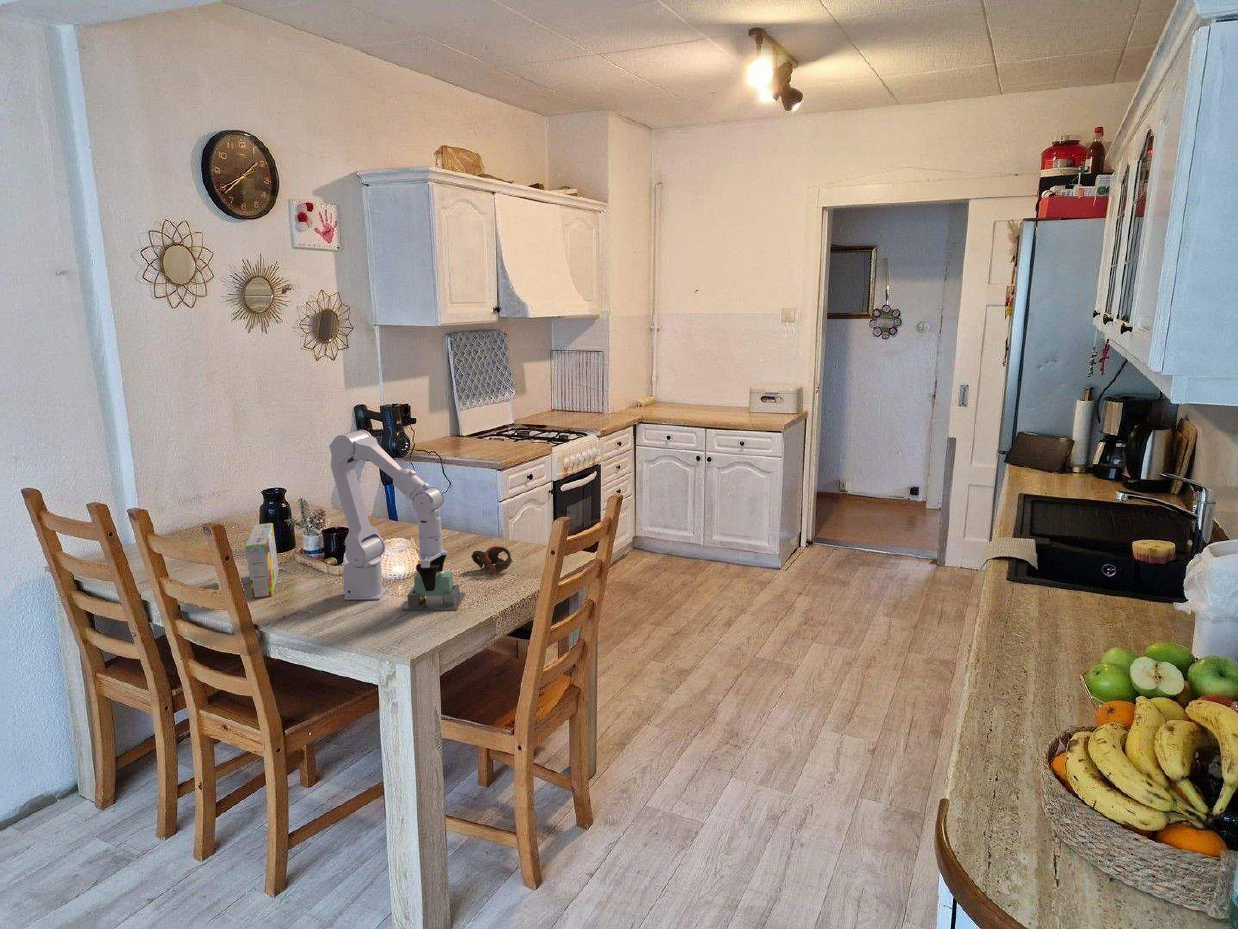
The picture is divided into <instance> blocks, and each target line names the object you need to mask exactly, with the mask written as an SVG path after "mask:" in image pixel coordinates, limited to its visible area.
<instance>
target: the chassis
mask: <svg viewBox="0 0 1238 929" xmlns="http://www.w3.org/2000/svg"><path fill="white" fill-rule="evenodd" d="M465 596H466V592H465V591H463V592H461V591H460V584H453V591H452V593H444V594H443V596H419V593H415V585H413V586H412V588H411V590H410V591H409V592H408V593H407V600H406V602H405V604H404V605H403V606H402V608H401V611H402V612H403V611H405V612H406V611H410V612H411V611H412V612H413V611H415V612H416V611H420V612H421V611H458V609H459V607H460V605H461V604H462V601H463V599H464V598H465Z"/></svg>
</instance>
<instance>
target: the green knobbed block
mask: <svg viewBox="0 0 1238 929" xmlns="http://www.w3.org/2000/svg"><path fill="white" fill-rule="evenodd" d="M453 580H454V579H453V571H441V572H437V574H436V581H435V589H434V591H426V590H425V587H424V584H423V581H422V578H421V576H420V574H419V572H418V571H417V573H416V574H415V576H413V584H414V585H415V593H419V596H443V594H444V593H452V591H453V585H454V582H453ZM414 585H413V586H414Z"/></svg>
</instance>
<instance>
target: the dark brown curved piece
mask: <svg viewBox="0 0 1238 929" xmlns="http://www.w3.org/2000/svg"><path fill="white" fill-rule="evenodd" d="M503 552H504V553H505V554H506V555H507V558H506V559H505V560H504V559H503V558H500V557H499V555H500V554H502V553H503ZM511 556H512V555H511V552H510V551H509V549H507V548H506V547H504V546H501V545H493V546H491V547H489V548H487V549H486V550H485V551H483V550H479V549H478V550H474V551H473V552H472V554H471V558H472V559H471V560H472V561H473V562H474V563H475V564H477V565H478V566H479V568H480V569H483V567H484V568H485V569H487V567H488V571H487V574H488V575H489V576H492V577H494V575H495V574H496V573H501V572H503V571H505V570H507V569H508V568H509V567H510V566H511V564H512V563H513V558H512V557H511Z"/></svg>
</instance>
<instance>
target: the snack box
mask: <svg viewBox="0 0 1238 929" xmlns="http://www.w3.org/2000/svg"><path fill="white" fill-rule="evenodd" d="M274 530H275V529H274V523H272V522H267V523H261V524H260V523H258V524H254V525H253V528H252V530H251V533H250V535H249V536H248V539H247V541H246V544H245V552H246V553H245V554H246V559H247V560H246V561H247V567H248V574H249V582H250V583H249V584H250V589H251V598H252V599H259V598H266V597H272V596H273V594H274V590H275V588H276V587H275V586H276V583H277V579H278V576H279V573H280V568H279V567H280V566H279V562H278V561H279V560H278V553H277V547H276V539H275V538H276V537H275V531H274Z"/></svg>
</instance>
